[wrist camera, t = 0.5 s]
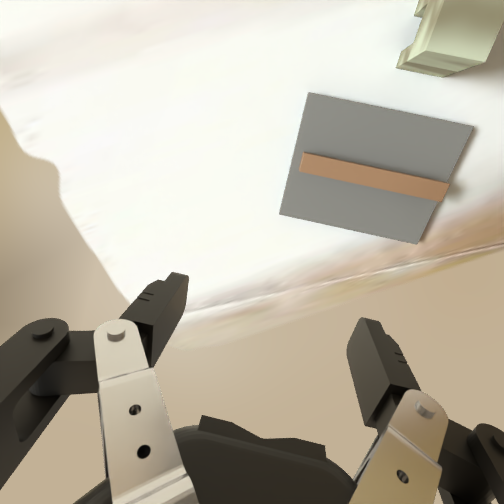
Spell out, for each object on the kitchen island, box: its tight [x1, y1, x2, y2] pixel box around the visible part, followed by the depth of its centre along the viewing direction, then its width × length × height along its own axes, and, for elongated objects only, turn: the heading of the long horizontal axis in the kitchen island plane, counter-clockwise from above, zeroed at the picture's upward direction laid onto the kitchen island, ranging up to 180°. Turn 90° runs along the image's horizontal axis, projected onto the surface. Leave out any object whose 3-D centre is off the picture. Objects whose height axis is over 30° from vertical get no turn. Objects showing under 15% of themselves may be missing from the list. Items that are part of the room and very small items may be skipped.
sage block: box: [396, 0, 504, 77], centre depth 25 cm, size 7×5×7 cm
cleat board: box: [279, 92, 474, 244], centre depth 32 cm, size 14×18×4 cm
